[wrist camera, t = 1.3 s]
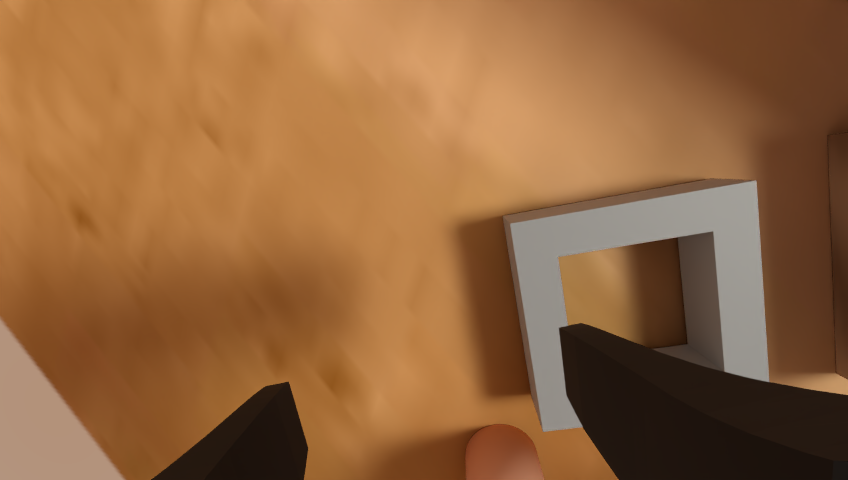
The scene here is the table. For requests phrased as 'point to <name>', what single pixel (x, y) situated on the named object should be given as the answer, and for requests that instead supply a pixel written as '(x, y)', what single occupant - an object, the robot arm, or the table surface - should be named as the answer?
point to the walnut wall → (839, 243)
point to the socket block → (632, 224)
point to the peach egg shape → (502, 455)
